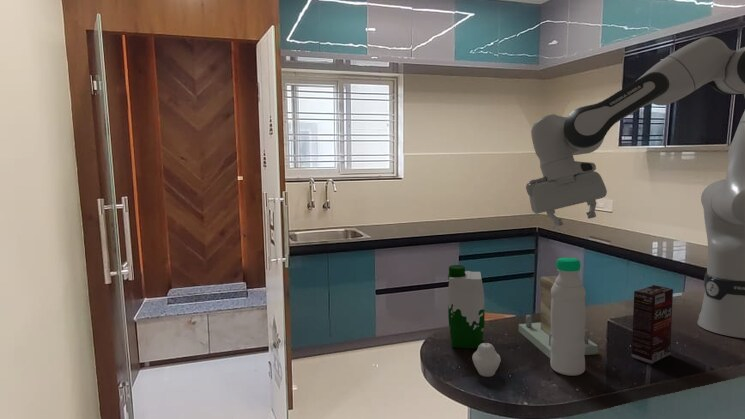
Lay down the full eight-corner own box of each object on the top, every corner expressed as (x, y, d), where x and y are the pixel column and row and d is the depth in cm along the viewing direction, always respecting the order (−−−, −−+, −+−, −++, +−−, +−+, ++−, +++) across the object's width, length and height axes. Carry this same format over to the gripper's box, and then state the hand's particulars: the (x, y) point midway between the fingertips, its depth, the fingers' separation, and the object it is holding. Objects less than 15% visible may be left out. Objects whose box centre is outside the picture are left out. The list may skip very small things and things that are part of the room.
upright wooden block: (555, 327, 119) (555, 275, 118) (571, 339, 111) (572, 284, 110) (540, 329, 119) (540, 276, 117) (556, 340, 111) (556, 285, 109)
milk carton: (449, 335, 122) (448, 262, 120) (484, 336, 120) (483, 263, 118) (448, 348, 114) (446, 271, 111) (485, 350, 112) (484, 271, 110)
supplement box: (652, 365, 101) (654, 295, 99) (630, 357, 105) (632, 290, 103) (672, 355, 105) (674, 288, 104) (650, 348, 110) (652, 284, 108)
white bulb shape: (467, 375, 100) (466, 344, 99) (479, 364, 104) (479, 335, 104) (493, 383, 96) (493, 351, 95) (505, 371, 100) (505, 341, 100)
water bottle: (556, 377, 97) (557, 263, 94) (546, 362, 104) (546, 255, 101) (590, 376, 97) (592, 262, 94) (577, 362, 104) (578, 255, 101)
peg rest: (560, 327, 124) (560, 310, 124) (597, 353, 108) (598, 333, 107) (518, 331, 123) (518, 313, 123) (549, 358, 106) (549, 337, 106)
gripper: (528, 178, 121) (543, 229, 118) (600, 162, 122) (617, 211, 119) (520, 184, 127) (534, 232, 124) (589, 168, 128) (604, 215, 126)
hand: (575, 221), depth 122 cm, fingers open, 8 cm apart
